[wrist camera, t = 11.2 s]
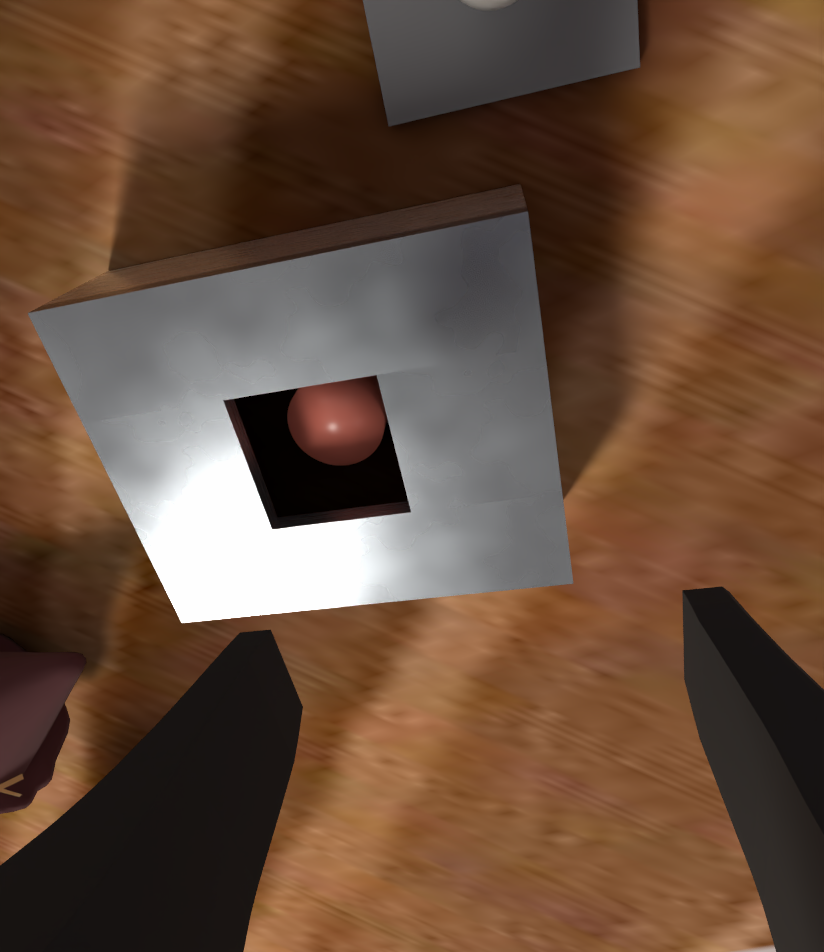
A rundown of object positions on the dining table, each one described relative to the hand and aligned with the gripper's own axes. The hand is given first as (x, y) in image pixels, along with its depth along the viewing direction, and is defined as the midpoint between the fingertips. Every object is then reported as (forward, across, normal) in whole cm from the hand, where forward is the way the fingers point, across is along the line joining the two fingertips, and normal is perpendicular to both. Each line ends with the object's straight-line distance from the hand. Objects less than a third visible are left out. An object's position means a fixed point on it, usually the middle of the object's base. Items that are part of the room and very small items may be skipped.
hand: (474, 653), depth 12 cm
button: (+10, +4, -1) cm, 11 cm away
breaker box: (+10, +4, -1) cm, 11 cm away
